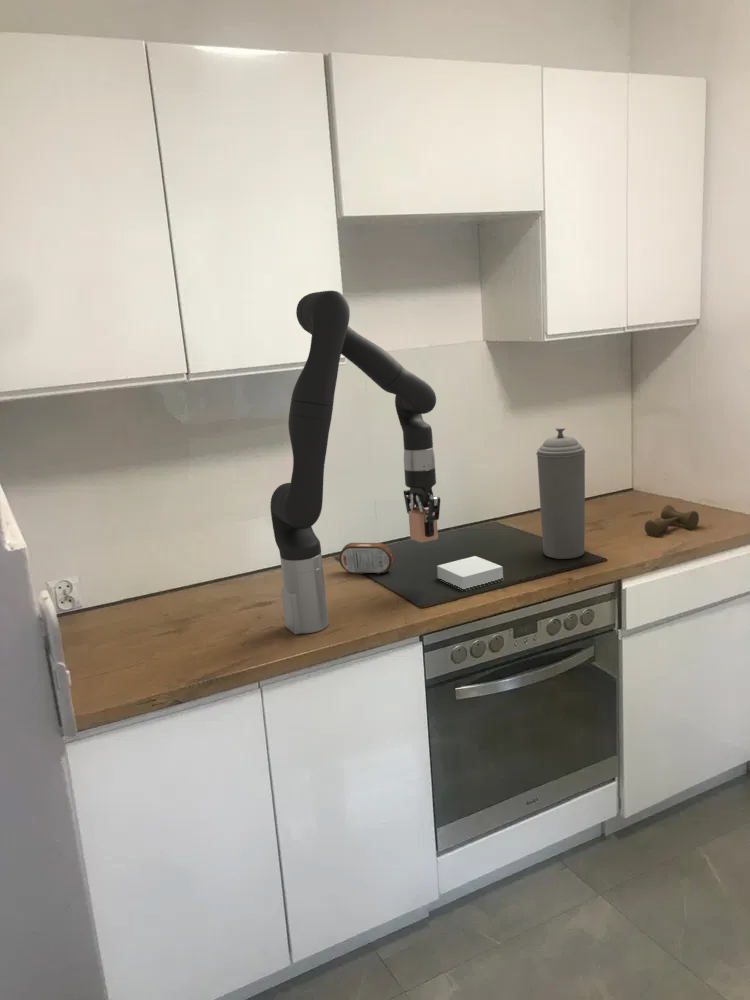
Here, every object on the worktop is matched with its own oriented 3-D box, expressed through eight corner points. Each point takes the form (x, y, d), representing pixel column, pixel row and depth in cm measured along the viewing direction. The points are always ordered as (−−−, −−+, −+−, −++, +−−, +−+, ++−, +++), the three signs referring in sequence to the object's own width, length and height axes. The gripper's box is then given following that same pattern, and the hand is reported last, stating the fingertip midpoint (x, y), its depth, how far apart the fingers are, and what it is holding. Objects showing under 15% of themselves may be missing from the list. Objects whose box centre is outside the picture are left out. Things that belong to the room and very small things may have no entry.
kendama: (636, 535, 228) (678, 519, 239) (665, 542, 220) (707, 525, 231) (636, 516, 226) (678, 500, 237) (665, 522, 219) (707, 505, 229)
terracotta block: (420, 542, 191) (418, 514, 189) (410, 538, 195) (408, 511, 194) (438, 538, 193) (436, 511, 192) (427, 534, 198) (425, 507, 196)
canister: (542, 547, 223) (537, 425, 215) (588, 547, 219) (585, 422, 211) (538, 561, 211) (533, 432, 203) (587, 561, 207) (584, 430, 200)
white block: (464, 592, 194) (462, 577, 193) (438, 580, 204) (437, 565, 203) (503, 581, 199) (502, 566, 198) (476, 570, 210) (475, 555, 209)
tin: (395, 571, 213) (393, 541, 211) (392, 575, 210) (390, 545, 208) (342, 571, 217) (340, 542, 216) (339, 574, 215) (336, 545, 213)
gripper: (391, 465, 195) (396, 531, 199) (421, 472, 182) (425, 543, 186) (417, 460, 198) (421, 525, 202) (448, 467, 186) (452, 537, 189)
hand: (423, 533), depth 194 cm, fingers closed on terracotta block, 5 cm apart
